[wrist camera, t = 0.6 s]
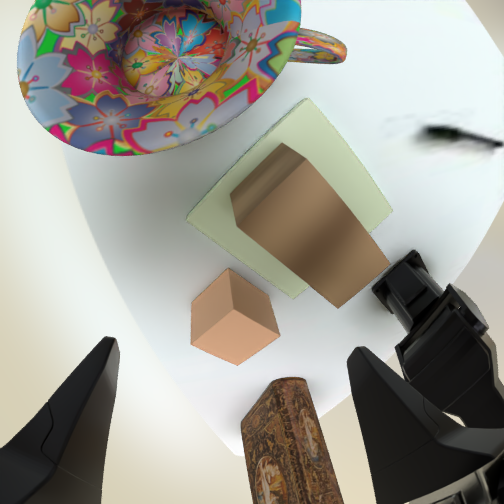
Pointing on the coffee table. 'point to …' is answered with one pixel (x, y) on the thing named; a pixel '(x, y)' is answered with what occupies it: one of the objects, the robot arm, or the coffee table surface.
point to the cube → (232, 319)
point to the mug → (156, 67)
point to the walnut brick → (306, 226)
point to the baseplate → (327, 164)
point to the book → (287, 448)
